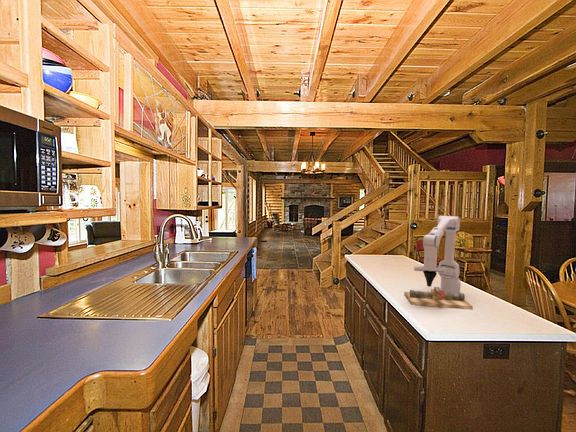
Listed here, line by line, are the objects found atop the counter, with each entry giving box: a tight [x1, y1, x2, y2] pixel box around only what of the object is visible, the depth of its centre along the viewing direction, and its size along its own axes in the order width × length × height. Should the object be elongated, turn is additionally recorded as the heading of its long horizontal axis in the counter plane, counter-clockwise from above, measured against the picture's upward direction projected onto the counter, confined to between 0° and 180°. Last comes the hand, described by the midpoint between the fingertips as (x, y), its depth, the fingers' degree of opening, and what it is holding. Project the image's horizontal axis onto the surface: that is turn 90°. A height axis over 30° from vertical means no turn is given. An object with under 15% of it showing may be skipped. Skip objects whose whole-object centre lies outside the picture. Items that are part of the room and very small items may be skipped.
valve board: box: [403, 288, 473, 310], centre depth 154 cm, size 28×16×6 cm, turn 80°
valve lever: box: [433, 286, 446, 297], centre depth 149 cm, size 11×2×1 cm, turn 170°
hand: (429, 286), depth 149 cm, fingers closed
